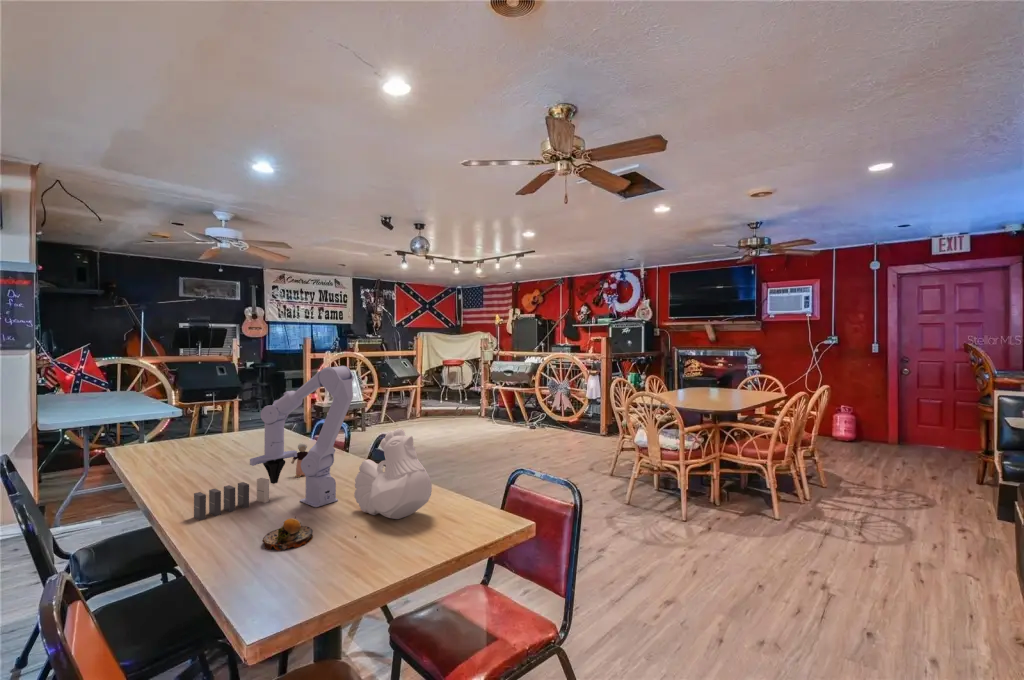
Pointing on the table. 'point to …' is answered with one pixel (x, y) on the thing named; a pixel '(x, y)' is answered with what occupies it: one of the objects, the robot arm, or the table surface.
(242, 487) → the tile
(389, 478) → the decorative rooster
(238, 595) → the table surface
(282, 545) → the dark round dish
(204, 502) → the tile
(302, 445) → the grandmother figurine
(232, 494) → the tile
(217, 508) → the tile
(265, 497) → the ivory tile
